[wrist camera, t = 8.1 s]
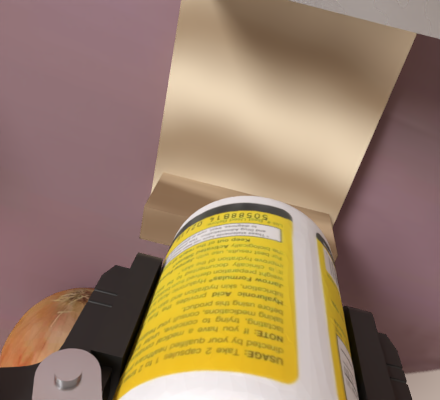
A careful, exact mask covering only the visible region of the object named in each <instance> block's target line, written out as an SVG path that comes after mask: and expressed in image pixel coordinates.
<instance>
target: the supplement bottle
mask: <svg viewBox="0 0 440 400" xmlns="http://www.w3.org/2000/svg"><path fill="white" fill-rule="evenodd" d="M112 400H359V397H358V392H357V386H356V380H355V374H354V368H353V364H352V358H351V353H350V347H349V341H348V336H347V330H346V324H345V318H344V312H343V307H342V303H341V296H340V291H339V285H338V280H337V274H336V269H335V264H334V260H333V256H332V252H331V249H330V246H329V244H328V241H327V239H326V237H325V236H324V234H323V233H322V231H321V230H320V229H319V227H318V226H317V225H316V224H315V223H314V222H313V221H312V220H311V219H310V218H309V217H308V216H306V215H305V214H304V213H302V212H301V211H299V210H298V209H296V208H294V207H292V206H290V205H288V204H286V203H283V202H281V201H277V200H274V199H270V198H265V197H259V196H236V197H229V198H224V199H221V200H218V201H215V202H212V203H210V204H208V205H206V206H204V207H202V208H201V209H199V210H198V211H196V212H195V213H194V214H192V215H191V216H190V217H189V218H188V219H187V220H186V221H185V222H184V223H183V225H182V226H181V227H180V229H179V231H178V232H177V234H176V236H175V238H174V240H173V242H172V244H171V246H170V248H169V250H168V253H167V256H166V258H165V261H164V263H163V266H162V269H161V272H160V274H159V277H158V280H157V282H156V285H155V288H154V290H153V293H152V296H151V298H150V301H149V304H148V306H147V309H146V312H145V314H144V317H143V320H142V323H141V325H140V328H139V331H138V333H137V336H136V339H135V341H134V344H133V347H132V349H131V352H130V355H129V357H128V360H127V363H126V365H125V368H124V371H123V373H122V376H121V378H120V381H119V384H118V386H117V389H116V391H115V394H114V397H113V399H112Z"/></svg>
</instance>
